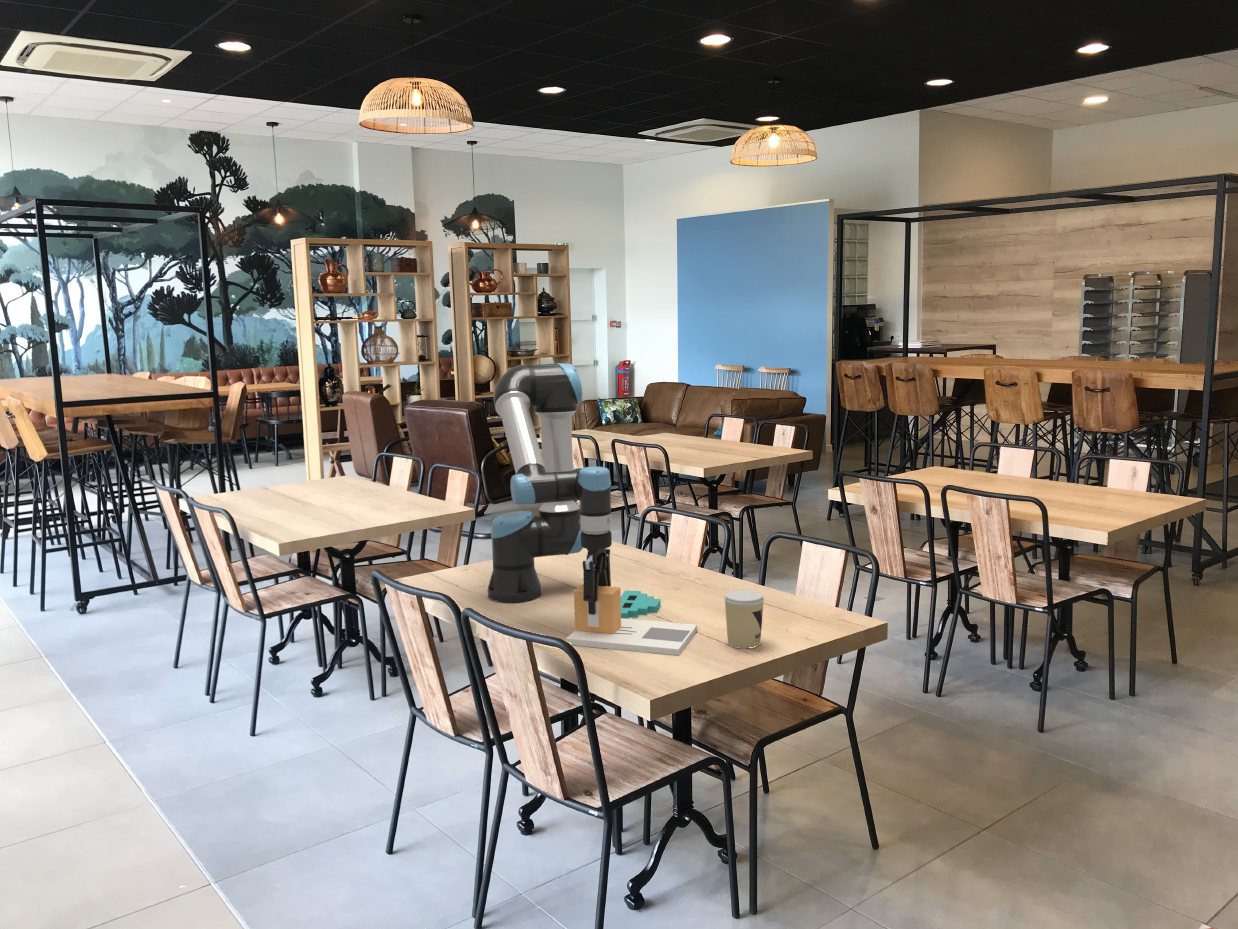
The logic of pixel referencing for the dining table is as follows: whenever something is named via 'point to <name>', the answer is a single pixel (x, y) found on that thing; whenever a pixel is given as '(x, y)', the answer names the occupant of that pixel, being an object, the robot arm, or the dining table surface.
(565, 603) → the dining table surface
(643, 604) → the alien figure
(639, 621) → the painted board
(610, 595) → the tan rectangular block
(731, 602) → the coffee cup
